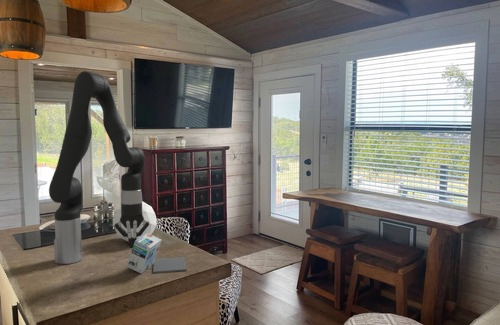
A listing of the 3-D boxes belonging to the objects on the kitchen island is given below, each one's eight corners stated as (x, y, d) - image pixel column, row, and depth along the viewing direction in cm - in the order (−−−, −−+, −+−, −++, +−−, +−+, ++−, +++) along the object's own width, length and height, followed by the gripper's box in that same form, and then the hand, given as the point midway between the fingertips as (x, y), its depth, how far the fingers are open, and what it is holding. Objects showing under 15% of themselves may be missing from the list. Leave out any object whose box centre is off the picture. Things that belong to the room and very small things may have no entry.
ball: (132, 258, 178) (109, 231, 166) (122, 233, 193) (101, 206, 181) (168, 235, 182) (149, 207, 170) (156, 213, 197) (137, 185, 185)
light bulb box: (141, 274, 141) (150, 248, 140) (125, 266, 142) (134, 240, 141) (154, 264, 152) (162, 239, 150) (138, 257, 153) (147, 232, 151)
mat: (153, 273, 143) (153, 271, 143) (154, 260, 156) (154, 258, 156) (186, 270, 145) (186, 269, 145) (184, 258, 159) (184, 256, 159)
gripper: (111, 204, 139) (112, 251, 141) (149, 202, 142) (150, 249, 143) (114, 200, 146) (115, 245, 148) (150, 199, 149) (151, 243, 151)
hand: (132, 247), depth 146 cm, fingers closed
